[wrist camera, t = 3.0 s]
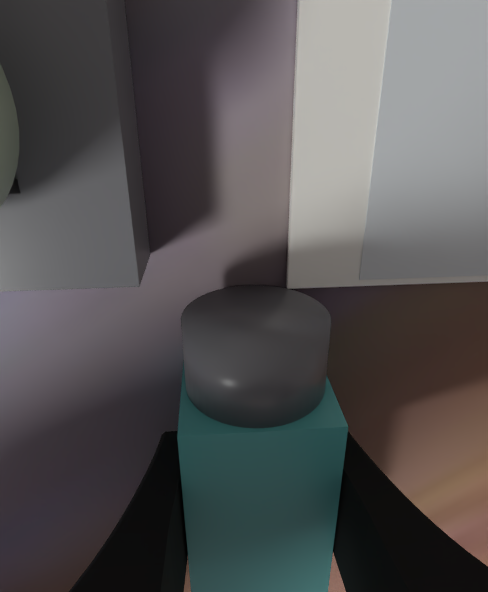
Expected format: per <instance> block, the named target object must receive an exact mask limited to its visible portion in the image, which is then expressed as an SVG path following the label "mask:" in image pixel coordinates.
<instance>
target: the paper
mask: <svg viewBox="0 0 488 592" xmlns="http://www.w3.org/2000/svg"><path fill="white" fill-rule="evenodd" d="M460 282H488V0H298V3H297V28H296V54H295V79H294V104H293V129H292V154H291V179H290V204H289V229H288V254H287V279H286V286H287V289H296V288H323V287H351V286H378V285H406V284H433V283H460Z"/></svg>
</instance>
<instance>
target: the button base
mask: <svg viewBox="0 0 488 592" xmlns="http://www.w3.org/2000/svg"><path fill="white" fill-rule="evenodd" d="M0 64H1V66H2V68H3V71H4V74H5V76H6V79H7V81H8V84H9V86H10V89H11V92H12V96H13V100H14V104H15V107H16V112H17V119H18V126H19V157H18V166H17V170H16V174H15V178H14V181H13V185H12V187H11V189H10V191H9V194H8V196H7V198H6V200H5V201H4V203H3V204H2V206H1V207H0V292H2V291H31V290H59V289H87V288H115V287H139V286H140V283H141V280H142V277H143V274H144V272H145V269H146V266H147V263H148V260H149V257H150V247H149V237H148V227H147V217H146V207H145V198H144V188H143V178H142V168H141V158H140V148H139V138H138V129H137V119H136V109H135V99H134V89H133V79H132V69H131V59H130V50H129V40H128V30H127V20H126V10H125V0H0Z"/></svg>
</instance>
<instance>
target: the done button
mask: <svg viewBox="0 0 488 592" xmlns="http://www.w3.org/2000/svg"><path fill="white" fill-rule="evenodd" d="M18 157H19V126H18V119H17V112H16V107H15V104H14V100H13V96H12V92H11V89H10V86H9V84H8V81H7V79H6V76H5V74H4V71H3V68H2V66H1V64H0V207H1V206H2V204H3V203H4V201H5V200H6V198H7V196H8V194H9V191H10V189H11V187H12V185H13V181H14V178H15V174H16V170H17V166H18Z"/></svg>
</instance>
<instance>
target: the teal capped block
mask: <svg viewBox="0 0 488 592" xmlns="http://www.w3.org/2000/svg"><path fill="white" fill-rule="evenodd" d="M181 329H182V343H183V356H184V362H183V374H182V386H181V398H180V410H179V422H178V434H177V440H178V451H179V462H180V473H181V484H182V495H183V506H184V517H185V528H186V539H187V550H188V561H189V572H190V583H191V592H328V586H329V578H330V570H331V562H332V554H333V546H334V538H335V530H336V522H337V514H338V506H339V498H340V490H341V482H342V474H343V466H344V458H345V449H346V441H347V433H348V425H347V422H346V420H345V418H344V415H343V413H342V410H341V408H340V406H339V403H338V401H337V399H336V396H335V394H334V391H333V389H332V387H331V384H330V382H329V379H328V377H327V364H328V353H329V342H330V331H331V316H330V314H329V312H328V310H327V309H326V308H325V307H324V306H323V305H322V304H321V303H320V302H318V301H317V300H315V299H314V298H312V297H310V296H308V295H306V294H303V293H300V292H298V291H294V290H291V289H286V288H281V287H275V286H262V285H247V286H236V287H229V288H224V289H220V290H216V291H213V292H210V293H207V294H205V295H202V296H201V297H199V298H197V299H195V300H194V301H192V302H191V303H190V304H189V305H188V306H187V307H186V308H185V309H184V311H183V313H182V316H181Z"/></svg>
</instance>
